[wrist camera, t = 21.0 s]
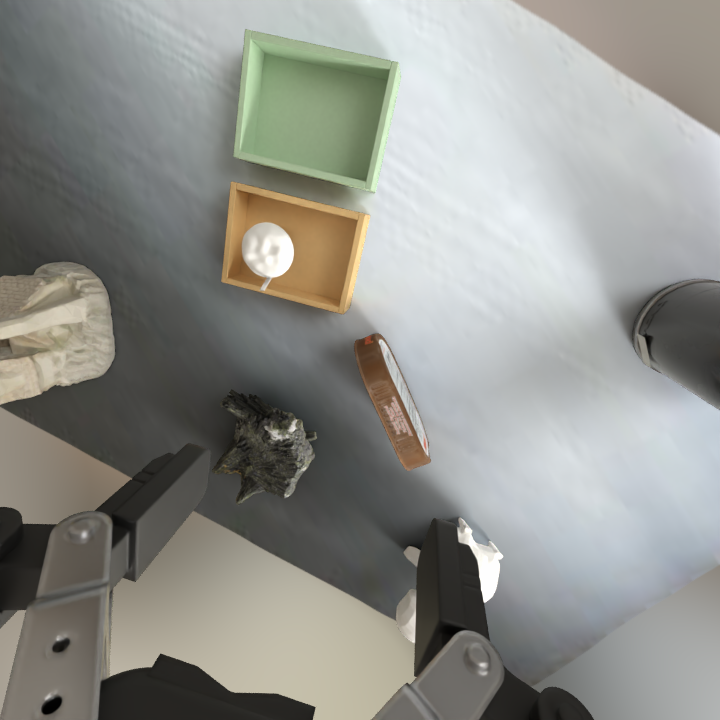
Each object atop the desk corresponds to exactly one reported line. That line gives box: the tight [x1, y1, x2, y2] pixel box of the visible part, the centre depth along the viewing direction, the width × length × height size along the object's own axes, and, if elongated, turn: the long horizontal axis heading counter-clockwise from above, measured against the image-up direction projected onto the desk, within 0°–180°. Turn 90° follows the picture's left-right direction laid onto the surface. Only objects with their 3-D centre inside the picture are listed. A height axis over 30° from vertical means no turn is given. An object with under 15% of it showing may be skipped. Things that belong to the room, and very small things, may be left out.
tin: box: [354, 334, 431, 471], centre depth 40 cm, size 15×3×8 cm, turn 24°
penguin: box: [396, 517, 503, 643], centre depth 48 cm, size 9×8×15 cm
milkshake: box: [242, 222, 311, 291], centre depth 36 cm, size 4×5×10 cm
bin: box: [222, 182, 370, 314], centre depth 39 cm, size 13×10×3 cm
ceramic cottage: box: [0, 261, 115, 404], centre depth 42 cm, size 16×16×15 cm
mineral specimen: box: [212, 390, 317, 505], centre depth 45 cm, size 15×13×10 cm
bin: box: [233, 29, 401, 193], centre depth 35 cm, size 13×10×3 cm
